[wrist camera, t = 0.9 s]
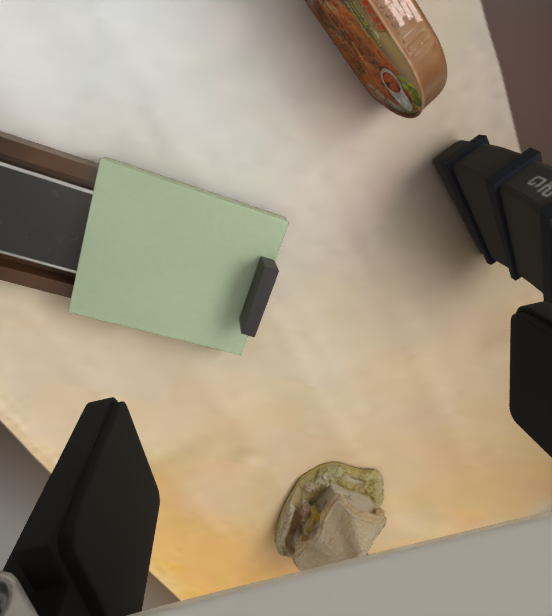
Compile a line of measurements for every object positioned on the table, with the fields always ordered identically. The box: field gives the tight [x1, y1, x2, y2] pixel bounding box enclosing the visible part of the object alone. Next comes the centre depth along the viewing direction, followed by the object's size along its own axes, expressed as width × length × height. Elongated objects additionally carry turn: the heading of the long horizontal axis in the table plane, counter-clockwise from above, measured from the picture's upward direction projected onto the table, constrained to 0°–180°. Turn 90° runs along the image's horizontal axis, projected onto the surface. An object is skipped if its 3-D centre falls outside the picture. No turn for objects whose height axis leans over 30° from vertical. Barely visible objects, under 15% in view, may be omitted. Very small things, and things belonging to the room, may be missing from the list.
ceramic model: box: [274, 462, 386, 571], centre depth 49 cm, size 14×11×10 cm
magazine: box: [433, 135, 552, 304], centre depth 36 cm, size 4×13×15 cm, turn 36°
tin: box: [305, 0, 447, 118], centre depth 31 cm, size 15×3×8 cm, turn 41°
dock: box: [0, 131, 99, 298], centre depth 37 cm, size 30×11×2 cm, turn 70°
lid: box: [68, 157, 289, 355], centre depth 36 cm, size 15×13×5 cm
